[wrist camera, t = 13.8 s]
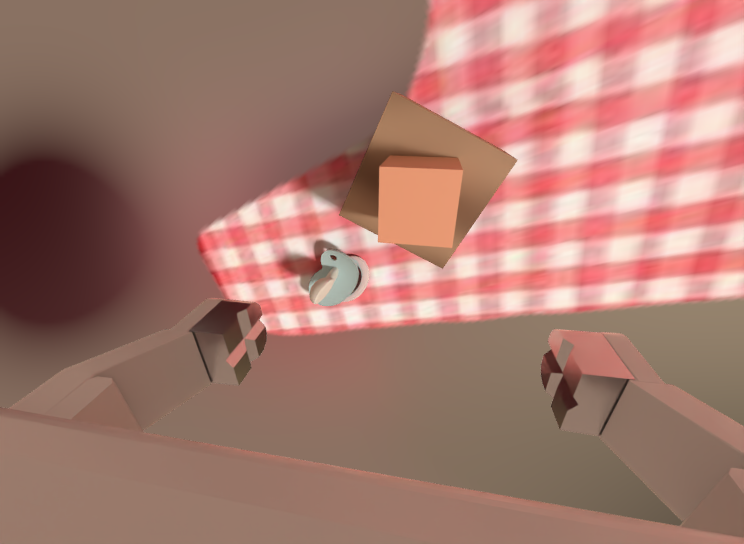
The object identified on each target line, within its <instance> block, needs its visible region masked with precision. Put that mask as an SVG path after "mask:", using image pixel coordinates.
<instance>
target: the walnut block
mask: <svg viewBox="0 0 744 544" xmlns="http://www.w3.org/2000/svg"><path fill="white" fill-rule="evenodd" d="M390 155H394V156H422V157H450V158H458V159H459V161H460V163H461V166H462V168H463V176H462V183H461V190H460V197H459V204H458V211H457V218H456V225H455V232H454V239H453V246H452V248H446V247H433V246H420V245H408V244H396V245H398V246H400V247H402V248H404V249H406V250H408V251H410V252H412V253H413V254H415V255H417V256H419V257H421V258H423V259H425V260H427V261H429V262H431V263H433V264H435V265H437V266H439V267H440V268H442V269H443V267H444V266H445V264H446V263H447V262H448V260H449V259H450V257H451V256H452V254H453V253H454V251H455V250H456V248H457V247H458V246H459V244H460V243H461V241H462V240H463V238H464V237H465V235H466V234H467V233H468V231H469V230H470V228H471V227H472V225H473V224H474V222H475V221H476V220H477V218H478V217H479V215H480V214H481V212H482V211H483V209H484V208H485V207H486V205H487V204H488V202H489V201H490V199H491V198H492V196H493V195H494V193H495V192H496V191H497V189H498V188H499V186H500V185H501V183H502V182H503V180H504V179H505V178H506V176H507V175H508V173H509V172H510V170H511V169H512V167H513V166H514V165H515V163H516V162H517V159H515V158H514V157H512V156H511V155H509V154H508V153H506V152H505V151H503V150H502V149H500V148H498V147H496V146H494V145H493V144H491V143H489V142H487V141H485V140H483V139H482V138H480V137H478V136H476V135H474V134H473V133H471V132H469V131H467V130H465V129H463V128H462V127H460V126H458V125H456V124H454V123H452V122H451V121H449V120H447V119H445V118H443V117H442V116H440V115H438V114H436V113H434V112H432V111H431V110H429V109H427V108H425V107H423V106H422V105H420V104H418V103H416V102H414V101H412V100H411V99H409V98H407V97H405V96H403V95H402V94H398V93H396V92H392V94H391V96H390V98H389V101H388V103H387V105H386V108H385V110H384V112H383V114H382V117H381V119H380V121H379V124H378V126H377V128H376V131H375V133H374V135H373V138H372V140H371V142H370V144H369V147H368V149H367V151H366V154H365V156H364V158H363V161H362V163H361V165H360V168H359V170H358V172H357V175H356V177H355V179H354V181H353V184H352V186H351V188H350V191H349V193H348V195H347V198H346V200H345V202H344V205H343V207H342V209H341V211H340V214H339V215H340V216H342V217H344V218H346V219H348V220H350V221H352V222H354V223H355V224H357V225H359V226H361V227H363V228H365V229H367V230H369V231H371V232H373V233H375V234H377V235H378V214H379V167H380V165H381V164H382V163H383V162H384V161H385V160H386V159H387V158H388V157H389V156H390ZM394 244H395V243H394Z"/></svg>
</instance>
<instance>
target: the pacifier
mask: <svg viewBox="0 0 744 544" xmlns="http://www.w3.org/2000/svg"><path fill="white" fill-rule="evenodd" d="M330 255H334V256H336V257H337V259H335V260H334V259H332V258H331V257H330ZM321 265H322V269H321V270H319V271H318V272H317V273H315V274H314V276H313V277H312V278H311V280H310V283H309V293H310V299H311V301H312V302H313V303H314V304H319V305H322V306H333V305H337V304H339V303H341V302H342V301H343V302H348V301H351V300H354V299H355V298H357V297H358V296H360V295H361V294H362V293H363V291H364V290H365V288H366V286H367V284H368V281H369V268H368V265H367V263H366V262H365V261H364V260H363V259H362V258H361V257H357V256H348V255H346V254H345V253H343V252H341V251H338V250H335V249H329V250H326V251H325V252H324V253H323V254H322V256H321ZM357 266H358V267H359V268H360V270H361V275H362V278H361V282H360V284H359V286H358V287H357V288H356V289H355V290H354V288H355V287H356V284H357V282H358V277H359V271H358V267H357ZM353 290H354V291H353Z"/></svg>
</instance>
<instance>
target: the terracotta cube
mask: <svg viewBox="0 0 744 544" xmlns="http://www.w3.org/2000/svg"><path fill="white" fill-rule="evenodd" d="M462 176H463V168H462V166H461V163H460V161H459V159H458V158H450V157H422V156H394V155H390V156H389V157H388V158H387V159H386V160H385V161H384V162H383V163H382V164H381V165H380V167H379V214H378V242H382V243H395V244H408V245H420V246H433V247H446V248H452V246H453V239H454V232H455V225H456V218H457V211H458V204H459V197H460V190H461V183H462Z"/></svg>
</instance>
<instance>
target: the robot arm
mask: <svg viewBox="0 0 744 544" xmlns="http://www.w3.org/2000/svg"><path fill="white" fill-rule="evenodd" d="M261 316H262V311H261V307H260V305H259V304H257V303H256V302H248V301H239V300H230V299H219V298H209V299H206V300H205V301H204V302H202V303H201V304H200V305H199V306H198V307H196V308H195V309H194V310H193V311H192V312H191V313H189V314H188V315H187V316H186V317H185V318H183V319H182V320H181V321H180V322H179V323H178V324H176V325H175V326H174V327H173V328H172V329H170V330H169V329H165V330H162V331H160V332H157V333H155V334H152V335H150V336H147V337H144V338H142V339H139V340H137V341H134V342H132V343H129V344H127V345H124V346H121V347H119V348H116V349H114V350H112V351H109V352H106V353H104V354H101V355H99V356H96V357H94V358H91V359H88V360H86V361H83V362H81V363H78V364H76V365H73V366H71V367H68V368H66V369H63V370H62V371H60V372H59V373H57V374H56V375H55V376H53V377H52V378H50V379H49V380H48V381H46V382H45V383H44V384H42V385H41V386H39V387H38V388H36V389H35V390H34V391H32V392H31V393H30V394H28V395H27V396H25V397H24V398H23V399H21V400H20V401H18V402H17V403H16V404H14V405H13V406H11V407H10V408H9V409H8V408H2V407H0V544H744V426H742V425H741V424H739V423H737V422H736V421H733V420H732V419H731V418H729V417H727V416H725V415H724V414H722V413H720V412H719V411H717V410H715V409H713V408H712V407H710V406H708V405H707V404H705V403H703V402H702V401H700V400H698V399H696V398H695V397H693V396H691V395H690V394H688V393H686V392H685V391H683V390H681V389H679V388H678V387H676V386H674V385H671V384H665V383H664V382H663V381H662V380H661V378H660V377H659V376H658V375H657V373H656V372H655V371H654V370H653V369H652V368H651V366H650V365H649V364H648V362H647V361H646V360H645V359H644V358H643V356H642V355H641V354H640V353H639V351H637V349H636V348H635V346H634V345H633V344H632V343H631V341H630V340H629V339H628V338H627V337H626V336H624V335H623V334H620V333H606V332H597V333H596V332H583V331H572V330H571V331H570V330H559V329H554V330H553V331H552V332H551V334H550V337H549V340H548V343H549V345H550V347H551V350H550V351H548V352H547V353H545V354H544V355H543V359H542V363H541V379H542V384H543V386H544V389H545V391H546V392H547V393H548V394H549V395H550V396H551V397H553V401H552V404H551V408H552V411H553V413H554V416H555V418H556V421H557V424H558V426H559V429H560V430H564V431H570V432H576V433H582V434H588V435H594V436H600V439H601V440H602V441H603V442H604V443H605V444H606V445H607V446H608V447H609V448H610V449H611V450H612V451H613V452H614V453H615V454H616V455H617V456H618V457H619V458H620V459H621V460H622V461H623V462H624V463H625V464H626V465H627V466H628V467H629V468H630V469H631V470H632V471H633V472H634V473H635V474H636V475H637V476H638V477H639V478H640V479H641V480H642V481H643V482H644V483H645V484H646V486H647V487H648V488H649V489H650V490H652V492H653V493H654V494H656V496H657V497H658V498H659V499H660V500H661V501H662V502H663V503H664V504H665V505H666V506H667V507H668V508H669V509H670V510H671V511H673V513H674V514H676V516H677V517H678V518H679V519H680V520H681V521H682V522H683V523H682V524H681V525H680V526H675V525H670V524H664V523H658V522H652V521H647V520H641V519H635V518H630V517H624V516H619V515H612V514H607V513H601V512H596V511H590V510H584V509H579V508H573V507H567V506H561V505H556V504H550V503H544V502H538V501H532V500H527V499H521V498H515V497H510V496H504V495H498V494H492V493H487V492H481V491H475V490H470V489H464V488H458V487H452V486H446V485H441V484H435V483H429V482H423V481H417V480H412V479H406V478H401V477H395V476H389V475H384V474H378V473H372V472H367V471H361V470H355V469H350V468H344V467H338V466H332V465H327V464H321V463H315V462H310V461H304V460H299V459H293V458H287V457H282V456H276V455H270V454H265V453H259V452H253V451H248V450H242V449H236V448H230V447H224V446H219V445H213V444H208V443H202V442H196V441H190V440H185V439H179V438H173V437H168V436H162V435H156V434H150V433H145V432H143V430H145V429H146V428H148V427H149V426H151V425H152V424H154V423H155V422H157V421H158V420H160V419H161V418H163V417H164V416H166V415H167V414H168V413H170V412H171V411H173V410H174V409H176V408H177V407H179V406H180V405H182V404H183V403H185V402H186V401H187V400H189V399H190V398H192V397H193V396H195V395H196V394H198V393H199V392H201V391H202V390H204V389H205V388H207V387H208V386H209V385H211V383H219V384H229V385H238V386H239V385H240V383H241V382H242V381H243V379H244V378H245V376H246V375H247V373H248V372H249V370H250V369H251V363H250V362H251V361H253V360H254V359H256V358H258V357H259V356H260V355H261V353H262V352H263V350H264V347H265V344H266V340H267V332H266V327H265V326H264V324H263V323H262V322H261V321H260V320H259V319H260V318H261Z"/></svg>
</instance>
